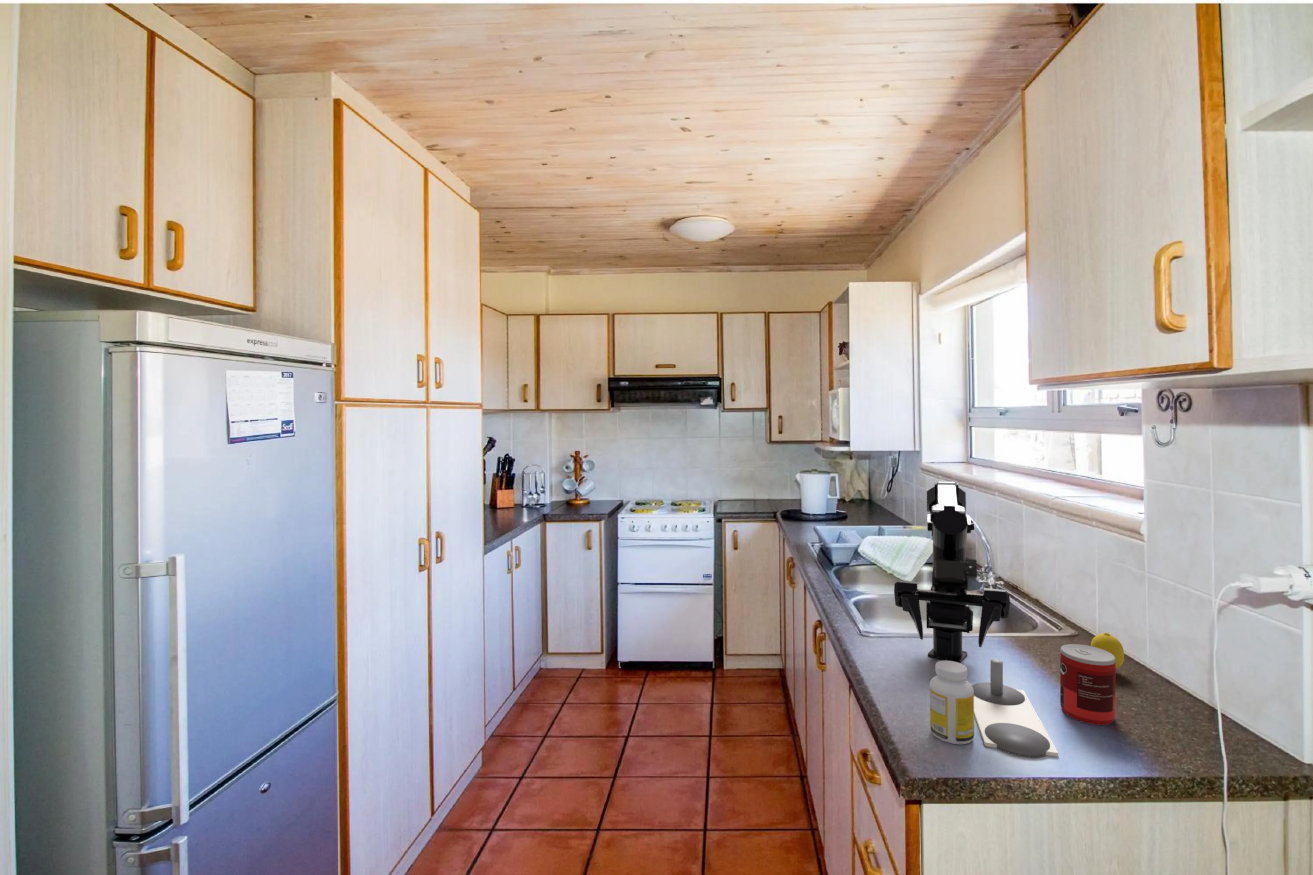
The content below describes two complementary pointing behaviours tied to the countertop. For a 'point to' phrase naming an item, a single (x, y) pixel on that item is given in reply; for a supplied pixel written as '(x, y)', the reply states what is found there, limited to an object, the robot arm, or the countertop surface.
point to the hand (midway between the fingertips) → (950, 642)
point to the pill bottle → (951, 703)
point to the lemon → (1109, 646)
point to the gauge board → (1009, 718)
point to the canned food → (1087, 684)
